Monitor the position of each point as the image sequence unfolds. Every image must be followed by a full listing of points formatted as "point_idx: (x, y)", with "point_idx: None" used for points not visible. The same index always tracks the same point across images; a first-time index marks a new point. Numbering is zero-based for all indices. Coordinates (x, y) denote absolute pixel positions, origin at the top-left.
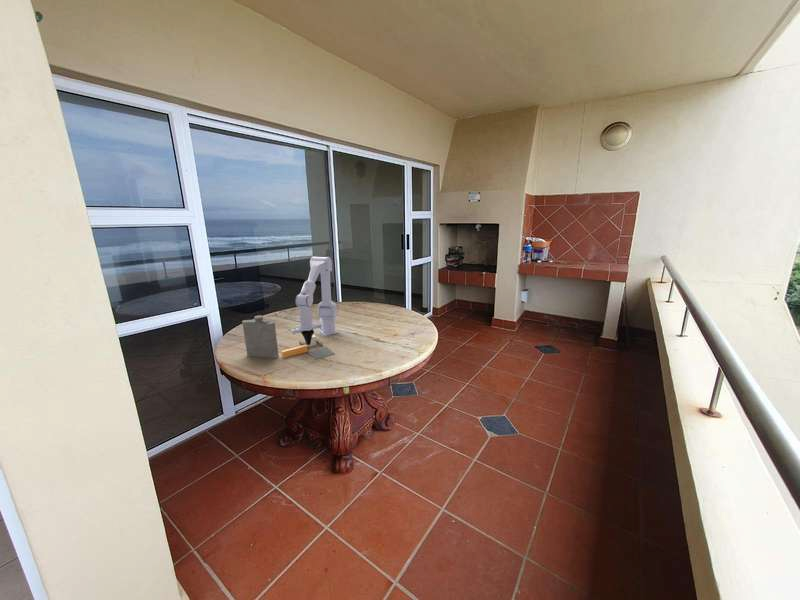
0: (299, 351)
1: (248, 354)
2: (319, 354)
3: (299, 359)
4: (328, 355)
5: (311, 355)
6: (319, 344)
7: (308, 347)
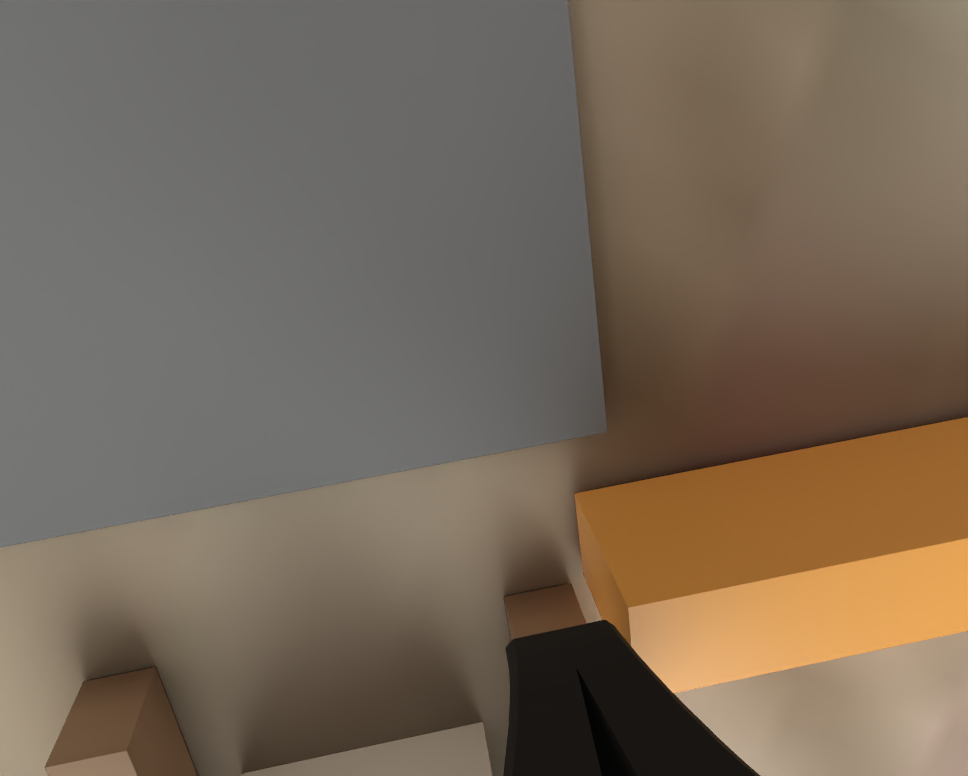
0: (844, 478)
1: None
2: (284, 36)
3: (957, 62)
4: None
5: (570, 105)
6: (156, 740)
7: None
